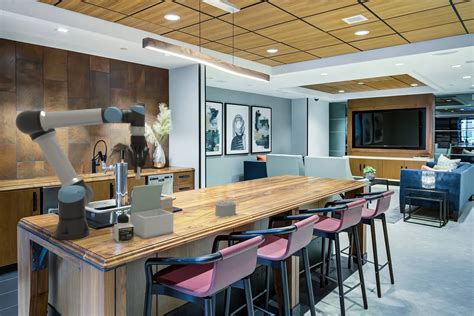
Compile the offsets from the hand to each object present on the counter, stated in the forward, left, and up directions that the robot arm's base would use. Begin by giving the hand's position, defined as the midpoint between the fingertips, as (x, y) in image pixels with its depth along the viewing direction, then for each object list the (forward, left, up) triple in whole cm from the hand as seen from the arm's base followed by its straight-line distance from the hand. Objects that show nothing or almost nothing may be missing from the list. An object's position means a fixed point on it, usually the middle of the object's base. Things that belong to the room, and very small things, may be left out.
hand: (137, 179), depth 182 cm
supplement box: (+18, +2, -26) cm, 32 cm away
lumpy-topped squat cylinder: (+54, -10, -26) cm, 61 cm away
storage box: (0, -16, -26) cm, 30 cm away
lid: (0, -11, -9) cm, 14 cm away
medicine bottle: (-16, -18, -26) cm, 35 cm away
